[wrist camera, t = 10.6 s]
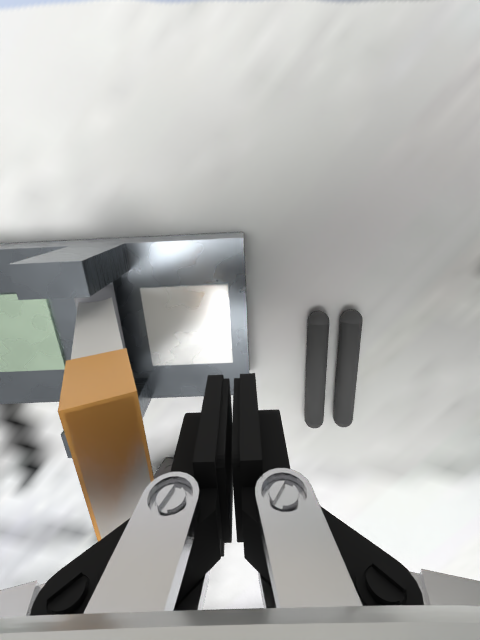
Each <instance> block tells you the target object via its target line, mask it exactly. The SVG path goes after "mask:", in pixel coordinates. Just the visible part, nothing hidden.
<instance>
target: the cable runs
mask: <svg viewBox="0 0 480 640" xmlns="http://www.w3.org/2000/svg"><path fill="white" fill-rule="evenodd" d="M361 329H362V316H361V314H360V313H359V312H358V311H356V310H347V311H345V312H344V313H343V314H342V315H341V318H340V331H339V345H338V359H337V373H336V386H335V400H334V414H333V418H334V421H335V423H336V424H337V425H338V426H340V427H347V426H349V425H350V424H351V423H352V420H353V410H354V400H355V390H356V380H357V370H358V360H359V350H360V339H361ZM328 333H329V318H328V316H327V315H326V314H325V313H324V312H322V311H315V312H313V313H312V314H311V315H310V316H309V318H308V330H307V360H306V391H305V422H306V424H307V425H308V426H309V427H311V428H318V427H320V426H321V425H322V423H323V418H324V401H325V384H326V367H327V350H328Z"/></svg>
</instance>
